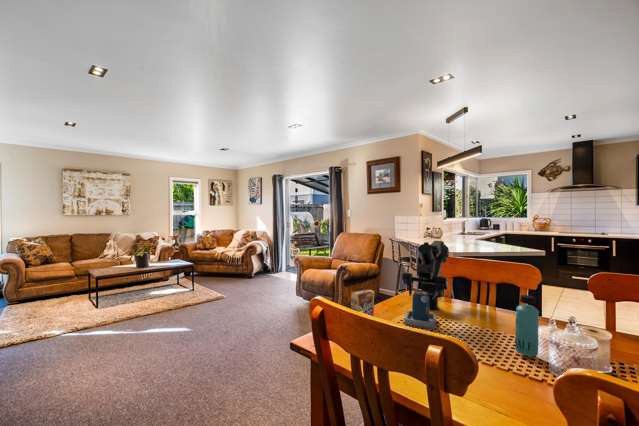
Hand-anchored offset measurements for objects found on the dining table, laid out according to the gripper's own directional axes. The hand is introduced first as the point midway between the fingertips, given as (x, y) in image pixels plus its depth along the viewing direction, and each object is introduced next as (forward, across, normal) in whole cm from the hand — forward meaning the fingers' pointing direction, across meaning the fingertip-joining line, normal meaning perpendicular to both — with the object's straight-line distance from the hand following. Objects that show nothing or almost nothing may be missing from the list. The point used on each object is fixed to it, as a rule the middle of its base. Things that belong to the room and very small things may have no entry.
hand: (421, 297), depth 129 cm
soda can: (+7, 0, +7) cm, 10 cm away
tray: (+8, 0, +7) cm, 10 cm away
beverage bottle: (+16, +37, -1) cm, 40 cm away
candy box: (+23, -18, -8) cm, 30 cm away
